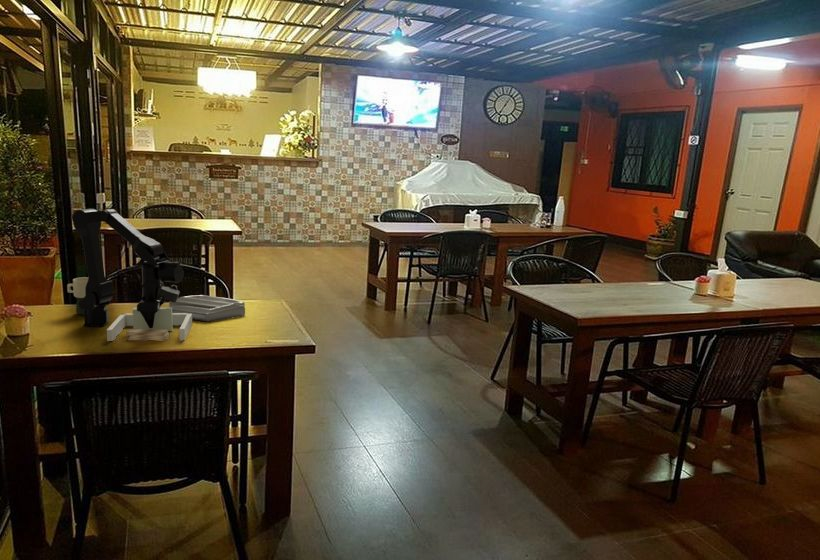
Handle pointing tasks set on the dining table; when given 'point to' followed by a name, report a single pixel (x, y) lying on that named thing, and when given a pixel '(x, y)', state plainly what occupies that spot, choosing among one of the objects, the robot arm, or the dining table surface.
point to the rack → (127, 320)
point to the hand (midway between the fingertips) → (153, 325)
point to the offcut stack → (147, 334)
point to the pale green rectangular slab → (160, 322)
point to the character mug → (78, 291)
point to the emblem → (208, 307)
